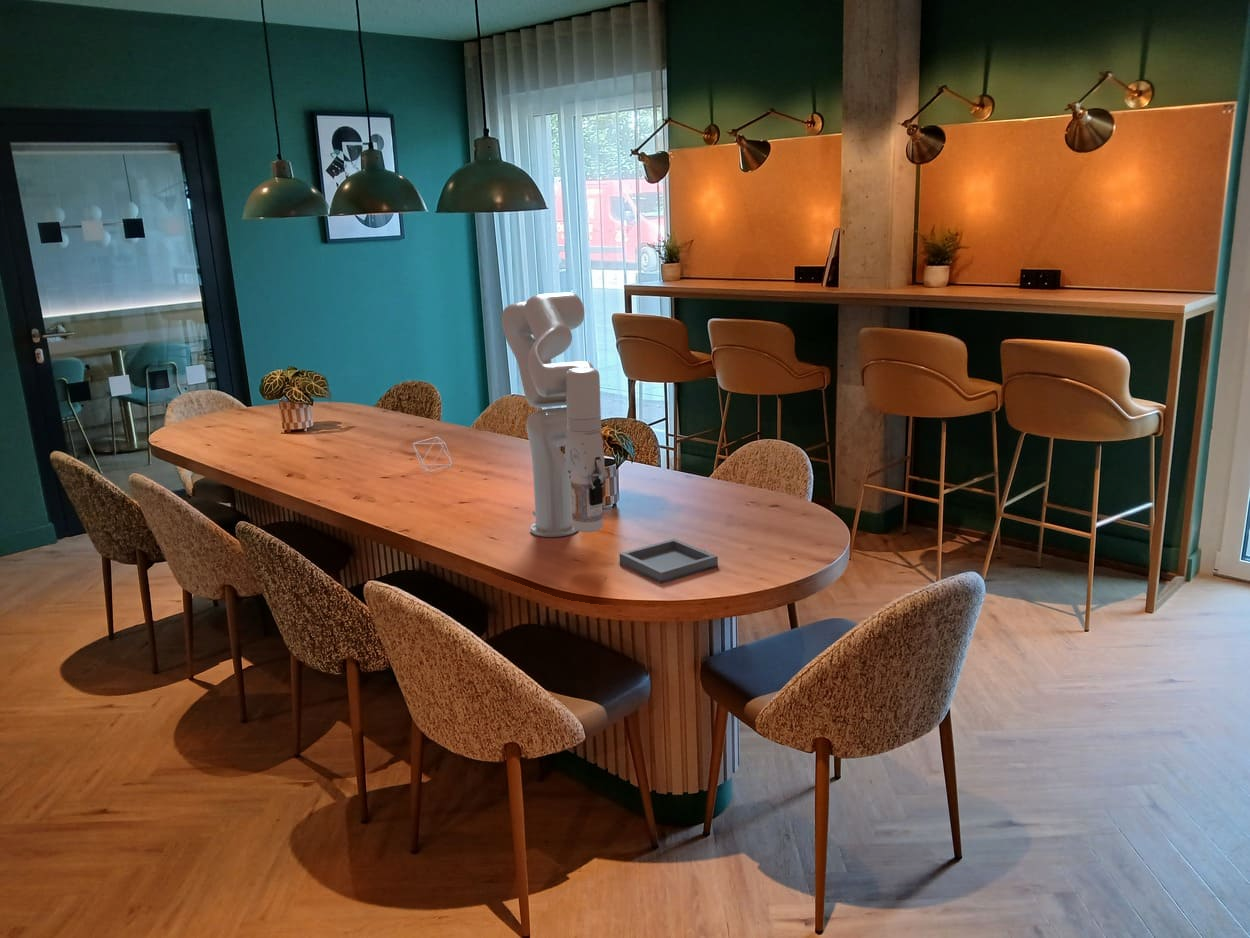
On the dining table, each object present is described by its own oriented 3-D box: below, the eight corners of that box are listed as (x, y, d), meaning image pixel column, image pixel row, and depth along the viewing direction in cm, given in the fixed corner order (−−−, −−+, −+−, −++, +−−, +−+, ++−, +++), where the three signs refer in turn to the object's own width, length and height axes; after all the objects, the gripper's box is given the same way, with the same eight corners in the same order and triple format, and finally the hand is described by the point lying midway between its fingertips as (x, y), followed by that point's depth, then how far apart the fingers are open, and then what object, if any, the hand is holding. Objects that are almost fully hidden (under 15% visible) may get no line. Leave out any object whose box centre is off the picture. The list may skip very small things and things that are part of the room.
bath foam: (570, 524, 221) (567, 440, 215) (600, 521, 222) (597, 438, 216) (575, 534, 214) (571, 448, 209) (605, 531, 216) (602, 446, 210)
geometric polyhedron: (408, 469, 312) (405, 442, 310) (432, 461, 321) (430, 435, 318) (435, 474, 305) (432, 446, 303) (459, 466, 314) (457, 439, 311)
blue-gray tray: (619, 563, 220) (619, 553, 220) (674, 548, 229) (674, 538, 229) (661, 583, 208) (661, 572, 207) (717, 566, 216) (717, 556, 216)
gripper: (549, 419, 216) (553, 493, 221) (591, 434, 202) (593, 513, 207) (577, 414, 220) (580, 487, 225) (620, 428, 206) (622, 506, 211)
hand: (586, 499), depth 216 cm, fingers closed on bath foam, 7 cm apart
